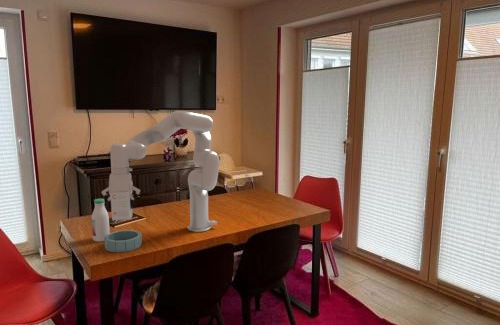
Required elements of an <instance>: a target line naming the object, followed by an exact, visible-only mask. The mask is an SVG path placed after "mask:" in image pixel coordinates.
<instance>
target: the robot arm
mask: <svg viewBox="0 0 500 325" xmlns="http://www.w3.org/2000/svg"><path fill="white" fill-rule="evenodd" d="M213 128H214V121H213V118H211V117H210V116H208V115H205V114H200V113H197V112H195V113H194V112H191V111H186V110H175V111H172V112H171V113H170V114H168V115H167V116H165V117H164V118H163V119H161V120H160V121H158V122H157V123H156V124H154V125H152V126H151V127H148V128H147V129H145V130H143V131H141V132H139V133H137V134H135V135H134V136H133V137H131V138H130V139H129V140H127V141H126V142H124V143H113V144H111V145H110V150H109V151H110V167H111V168H110V170H111V173H110V174H109V179H108V187H106V188H105V189H103V190H102V191H101V194H102V195H103V197H104V198H105V200H107V202H108V208H110V210H111V195H110V192H128V191H129V195H130V198H131V200H130V204H131V209H132V210H133V208H134V207H135V200H136V198H137V197H138V196H139V194H140V192H141V189H139V188H137V187H136V186H134V183H133V178H132V173H130V172H133V167H130V162H129V160H142V159H143V158H145V157H146V156H147V153H148V149H147V147H148V146H150V145H153V144H158V143H161V142H163V141H166V140H167V139H168V138H169V137H171V136H172V135H174V134H175V133H176V132H178V131H179V130H180V129H184V130H189V131H191V132H192V133H193V136H194V141H195V142H194V148H193V149H194V151H193V158H192V162H193V165H194V166H196V167H198V168H202V169H193V170H191V171H190V173H189V174H188V175H187V176H188V177H187V184H188V190H189V217H190V218H189V219H190V220H189V221H190V224H188V226H187V230H188V231H190V232H194V233H195V232H196V233H200V232H206V231H209V230H211V229H212V226H217V225H218V221H217V220H214V219H213V220H210V219H209V194H208V193H209V191H212V190H214V188H215V187H216V186H217V184H218V177H219V171H220V170H219V169H220V163H221V162H220V158H219V155H218V153H216V152H215V151H213V150H212V143H213V142H212V134H211V131H212V129H213ZM134 191H135V194H133V193H134ZM107 192H108V194H107Z"/></svg>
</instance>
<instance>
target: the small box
mask: <svg viewBox="0 0 500 325" xmlns="http://www.w3.org/2000/svg"><path fill="white" fill-rule="evenodd" d="M110 195H111V221H128V220H131V219H132V218H133V216H134V215H133V208H132V209H131V204H130V200H131V198H130V195H129V191H128V192H110ZM110 195H109V196H110Z"/></svg>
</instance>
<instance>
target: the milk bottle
mask: <svg viewBox="0 0 500 325" xmlns="http://www.w3.org/2000/svg"><path fill="white" fill-rule="evenodd" d="M93 202H94V209H93V211H92V214H91V229H92V230H91V231H92V241H94V242H96V243H97V242H99V243H101V242H104V238H105V236H106V235H107V234H109V233H111V232H110V231H111V230H110V219H109V218H110V217H109V212H108V211H107V209H106V206H105V199H104V198H95V199H94V200H93Z"/></svg>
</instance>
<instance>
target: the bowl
mask: <svg viewBox="0 0 500 325" xmlns="http://www.w3.org/2000/svg"><path fill="white" fill-rule="evenodd" d="M142 237H143V236H142V232H140V231H139V230H135V229H121V230H116V231H112V232H110V233H109V234H107V235H106V236H105V238H104V241H103V243H104V248H105V250H106V251H108V252H111V253H127V252H132V251H134V250H135V251H136V250H137V249H139V248H140V247H142V243H143V242H142V241H143V240H142V239H143V238H142Z"/></svg>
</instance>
